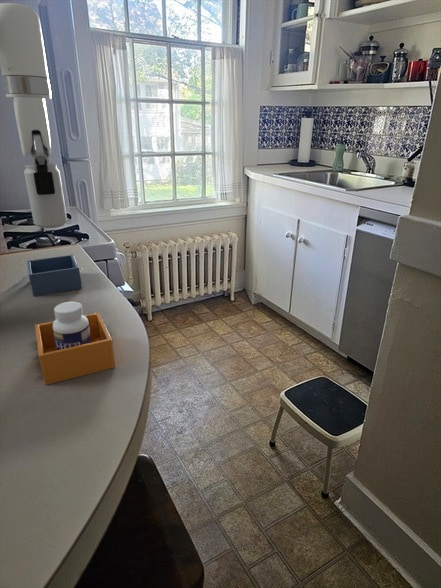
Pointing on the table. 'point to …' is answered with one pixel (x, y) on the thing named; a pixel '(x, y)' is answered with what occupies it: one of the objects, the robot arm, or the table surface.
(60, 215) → the beverage can
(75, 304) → the pill bottle
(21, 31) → the robot arm
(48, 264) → the slate bin
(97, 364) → the amber bin
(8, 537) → the table surface
